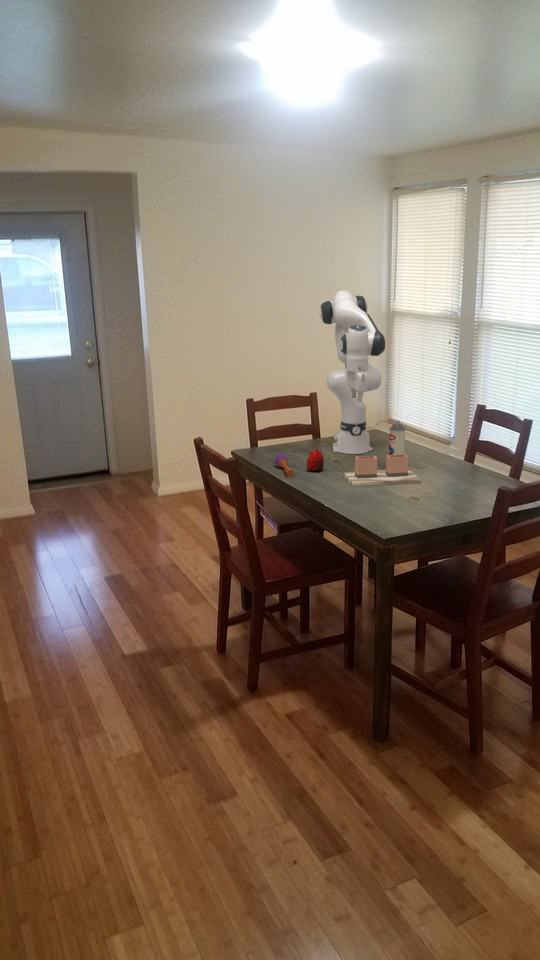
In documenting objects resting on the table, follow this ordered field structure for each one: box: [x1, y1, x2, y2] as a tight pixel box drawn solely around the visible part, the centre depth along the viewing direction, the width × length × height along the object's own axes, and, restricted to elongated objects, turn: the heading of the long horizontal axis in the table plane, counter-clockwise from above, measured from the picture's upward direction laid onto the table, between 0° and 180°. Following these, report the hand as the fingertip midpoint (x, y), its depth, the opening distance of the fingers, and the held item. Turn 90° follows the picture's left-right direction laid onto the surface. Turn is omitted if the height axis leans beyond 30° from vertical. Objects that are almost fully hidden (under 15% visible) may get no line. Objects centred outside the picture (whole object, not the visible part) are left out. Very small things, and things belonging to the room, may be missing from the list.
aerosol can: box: [388, 420, 406, 455], centre depth 320 cm, size 7×7×20 cm
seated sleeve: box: [385, 453, 410, 477], centre depth 303 cm, size 8×5×8 cm, turn 97°
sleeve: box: [354, 455, 378, 478], centre depth 301 cm, size 8×5×8 cm, turn 97°
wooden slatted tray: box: [343, 468, 422, 487], centre depth 303 cm, size 16×28×6 cm, turn 97°
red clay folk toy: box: [306, 438, 325, 473], centre depth 316 cm, size 8×7×15 cm
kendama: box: [273, 453, 295, 478], centre depth 317 cm, size 6×6×20 cm
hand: (356, 399), depth 305 cm, fingers open, 8 cm apart
